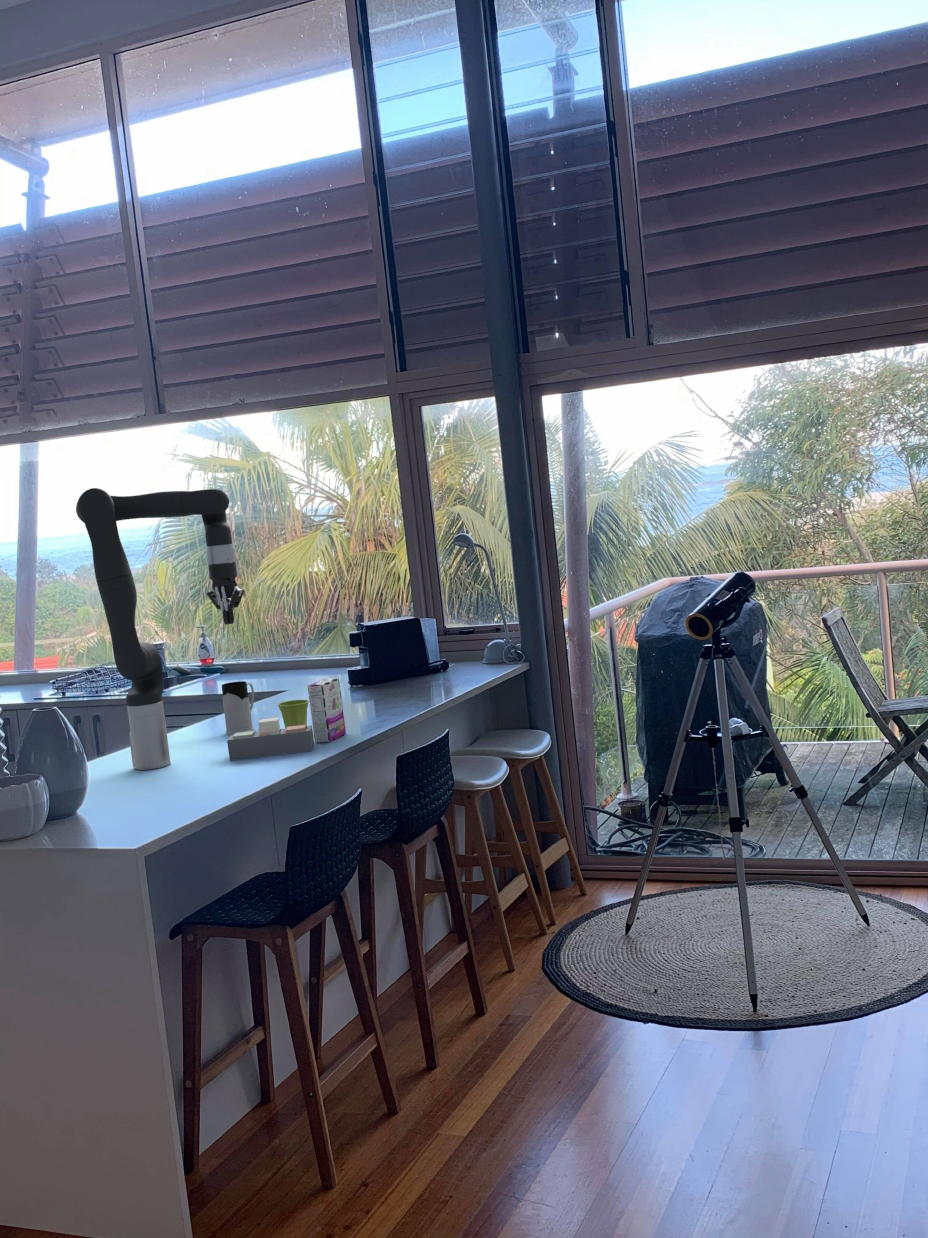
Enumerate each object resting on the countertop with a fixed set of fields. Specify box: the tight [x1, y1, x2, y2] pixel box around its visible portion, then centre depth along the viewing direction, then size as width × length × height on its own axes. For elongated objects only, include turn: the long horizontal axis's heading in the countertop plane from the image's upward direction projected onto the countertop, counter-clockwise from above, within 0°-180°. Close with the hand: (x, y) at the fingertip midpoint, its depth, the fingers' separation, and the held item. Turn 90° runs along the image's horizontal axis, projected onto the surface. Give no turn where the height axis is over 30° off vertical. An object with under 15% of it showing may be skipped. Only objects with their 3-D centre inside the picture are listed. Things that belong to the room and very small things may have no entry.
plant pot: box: [277, 699, 310, 729], centre depth 338 cm, size 9×9×9 cm
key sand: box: [257, 716, 281, 735], centre depth 307 cm, size 5×5×5 cm
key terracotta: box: [286, 725, 306, 733], centre depth 308 cm, size 5×5×5 cm
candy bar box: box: [307, 677, 347, 744], centre depth 319 cm, size 11×5×16 cm, turn 161°
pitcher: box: [221, 680, 255, 736], centre depth 349 cm, size 9×14×15 cm, turn 158°
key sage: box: [233, 730, 255, 739], centre depth 307 cm, size 5×5×5 cm
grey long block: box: [226, 724, 315, 762], centre depth 307 cm, size 22×8×6 cm, turn 94°
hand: (229, 623), depth 317 cm, fingers closed
